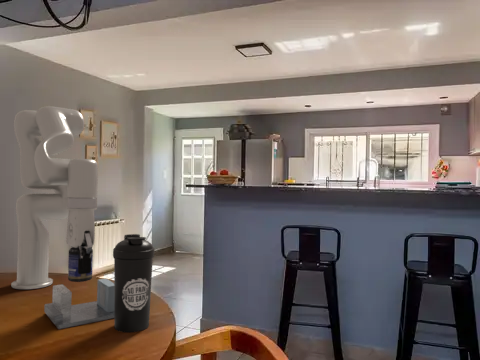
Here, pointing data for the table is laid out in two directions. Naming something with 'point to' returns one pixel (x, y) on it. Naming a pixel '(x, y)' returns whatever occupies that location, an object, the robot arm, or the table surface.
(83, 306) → the vise base
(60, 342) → the table surface
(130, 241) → the water bottle
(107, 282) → the sliding jaw
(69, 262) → the pill bottle
